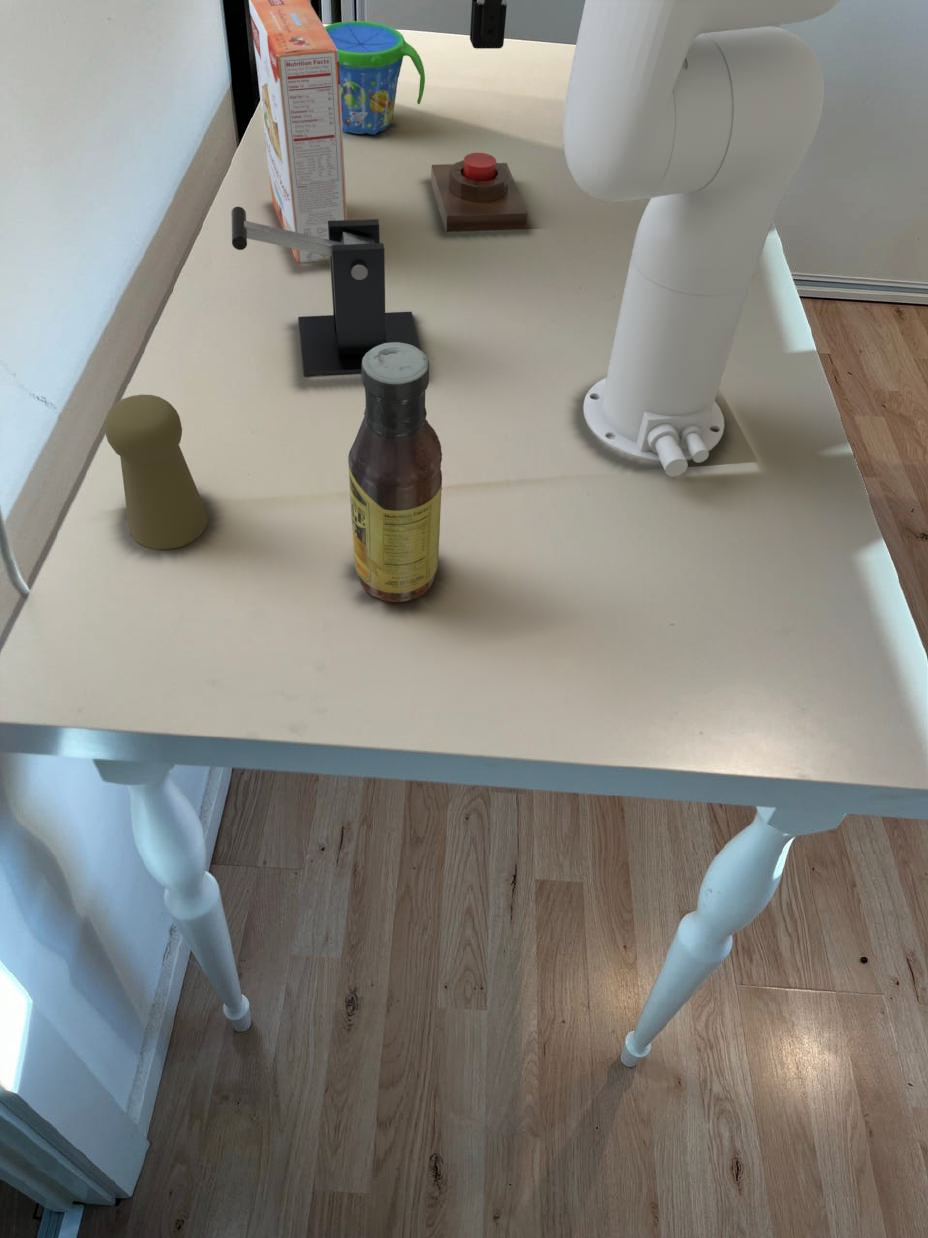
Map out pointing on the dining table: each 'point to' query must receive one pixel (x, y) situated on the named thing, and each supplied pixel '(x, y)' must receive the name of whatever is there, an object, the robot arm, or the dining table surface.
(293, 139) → the cracker box
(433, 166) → the button block
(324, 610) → the dining table surface
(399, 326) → the bracket
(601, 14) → the robot arm
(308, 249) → the lever
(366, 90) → the snack cup
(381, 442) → the sauce bottle
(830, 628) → the dining table surface
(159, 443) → the olive pawn
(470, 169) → the button
